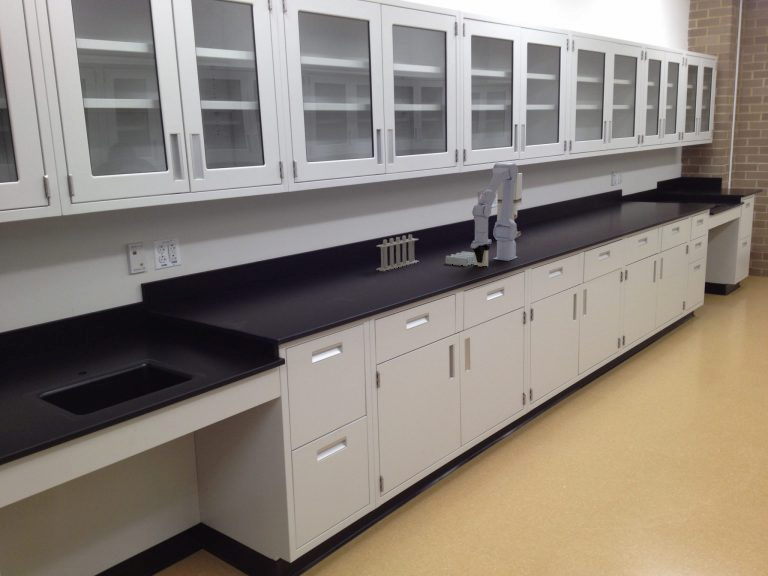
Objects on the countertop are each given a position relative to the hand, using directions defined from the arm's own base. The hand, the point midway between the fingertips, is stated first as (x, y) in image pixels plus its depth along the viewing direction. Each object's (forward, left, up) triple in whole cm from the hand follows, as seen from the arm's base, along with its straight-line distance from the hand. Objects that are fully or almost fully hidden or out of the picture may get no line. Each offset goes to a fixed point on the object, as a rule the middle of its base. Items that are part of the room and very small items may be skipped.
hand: (481, 262), depth 298 cm
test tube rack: (+20, -31, -2) cm, 37 cm away
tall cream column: (-83, -30, -2) cm, 88 cm away
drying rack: (-3, -10, -2) cm, 11 cm away
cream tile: (0, 0, -2) cm, 2 cm away
